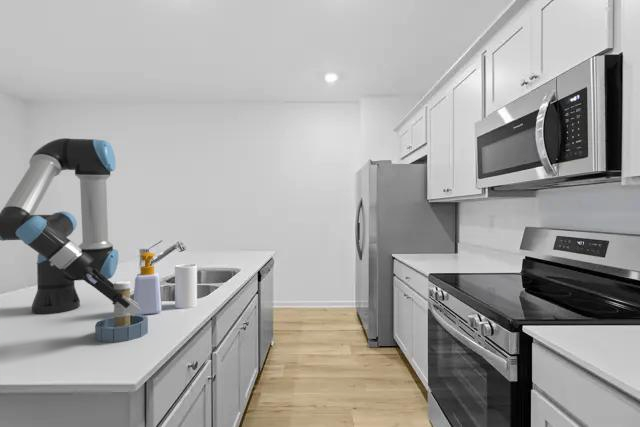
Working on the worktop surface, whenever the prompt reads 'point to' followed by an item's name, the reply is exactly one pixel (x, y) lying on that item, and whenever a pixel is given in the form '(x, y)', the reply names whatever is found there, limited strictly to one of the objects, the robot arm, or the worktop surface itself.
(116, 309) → the sprinkles bottle
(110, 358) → the worktop surface
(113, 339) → the bowl
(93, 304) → the worktop surface
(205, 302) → the worktop surface
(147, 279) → the soap bottle
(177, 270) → the cup
